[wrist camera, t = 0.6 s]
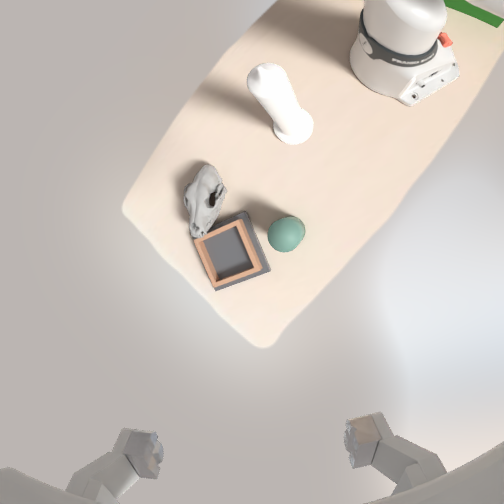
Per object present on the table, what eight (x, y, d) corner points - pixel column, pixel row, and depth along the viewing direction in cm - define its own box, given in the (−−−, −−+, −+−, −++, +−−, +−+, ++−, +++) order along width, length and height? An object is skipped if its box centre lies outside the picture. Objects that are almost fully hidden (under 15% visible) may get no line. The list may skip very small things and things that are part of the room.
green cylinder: (298, 211, 51) (292, 213, 43) (309, 238, 51) (305, 245, 44) (272, 222, 52) (262, 226, 45) (283, 248, 53) (275, 256, 45)
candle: (272, 143, 50) (221, 99, 26) (275, 107, 48) (228, 42, 25) (312, 146, 48) (293, 98, 24) (314, 108, 47) (295, 38, 23)
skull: (228, 162, 50) (208, 214, 44) (234, 196, 57) (218, 246, 51) (188, 160, 51) (162, 209, 45) (198, 192, 59) (177, 240, 53)
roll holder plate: (246, 211, 53) (241, 211, 50) (271, 270, 54) (267, 274, 51) (194, 235, 57) (187, 237, 54) (217, 289, 58) (211, 294, 55)
